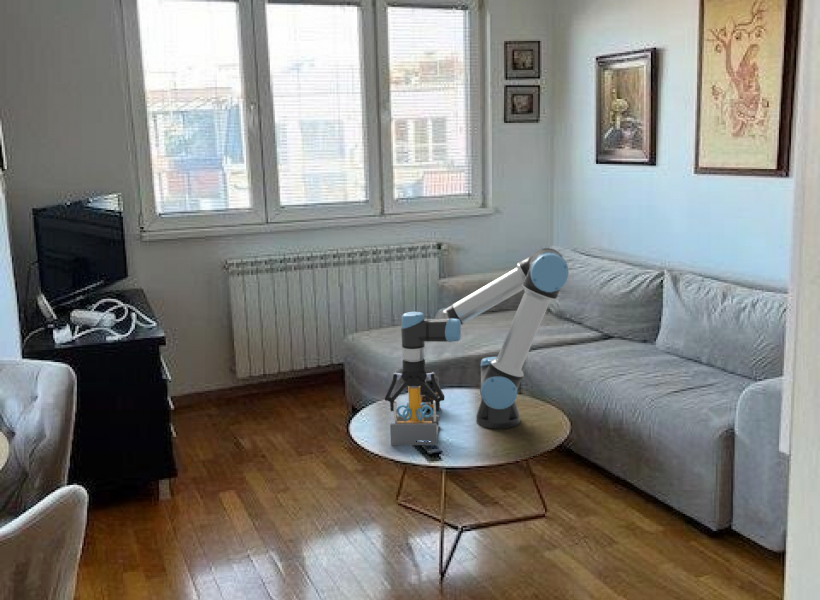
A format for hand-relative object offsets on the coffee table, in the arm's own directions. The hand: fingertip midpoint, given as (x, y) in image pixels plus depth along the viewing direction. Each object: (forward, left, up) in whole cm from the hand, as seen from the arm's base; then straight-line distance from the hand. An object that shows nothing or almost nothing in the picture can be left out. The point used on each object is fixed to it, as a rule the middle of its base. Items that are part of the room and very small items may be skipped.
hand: (415, 420), depth 283 cm
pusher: (0, +5, -5) cm, 7 cm away
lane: (0, 0, -5) cm, 5 cm away
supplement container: (-2, -27, -5) cm, 28 cm away
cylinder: (0, 0, -4) cm, 4 cm away
